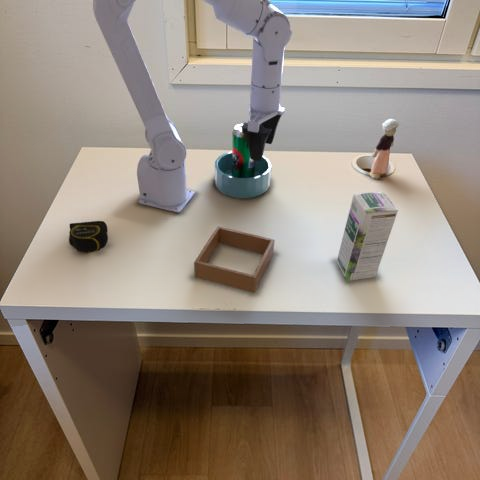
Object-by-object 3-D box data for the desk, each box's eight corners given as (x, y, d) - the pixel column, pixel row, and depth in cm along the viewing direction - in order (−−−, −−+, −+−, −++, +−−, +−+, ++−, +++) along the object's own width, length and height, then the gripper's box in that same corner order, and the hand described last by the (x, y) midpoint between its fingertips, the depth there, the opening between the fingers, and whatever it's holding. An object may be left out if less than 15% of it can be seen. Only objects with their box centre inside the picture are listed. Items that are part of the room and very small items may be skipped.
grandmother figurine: (380, 182, 106) (395, 128, 97) (364, 177, 107) (377, 123, 98) (391, 168, 110) (407, 115, 101) (376, 163, 112) (390, 110, 102)
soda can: (252, 188, 102) (254, 134, 93) (229, 185, 102) (230, 131, 94) (256, 176, 105) (259, 123, 96) (234, 173, 106) (235, 120, 97)
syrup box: (335, 261, 87) (351, 193, 76) (364, 257, 88) (384, 189, 77) (346, 282, 83) (365, 213, 72) (377, 277, 84) (399, 209, 73)
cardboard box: (194, 277, 83) (193, 262, 80) (217, 240, 90) (217, 225, 87) (254, 293, 80) (255, 278, 78) (273, 254, 88) (274, 239, 85)
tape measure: (109, 232, 91) (105, 216, 88) (109, 255, 86) (105, 238, 83) (72, 235, 90) (68, 219, 87) (70, 258, 85) (65, 242, 82)
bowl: (206, 191, 102) (206, 172, 98) (226, 164, 109) (226, 146, 106) (260, 203, 99) (261, 184, 96) (276, 175, 107) (277, 156, 104)
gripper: (275, 100, 82) (270, 171, 92) (296, 72, 91) (289, 139, 101) (237, 94, 83) (236, 164, 93) (262, 66, 93) (258, 133, 103)
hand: (261, 150), depth 97 cm, fingers open, 7 cm apart
